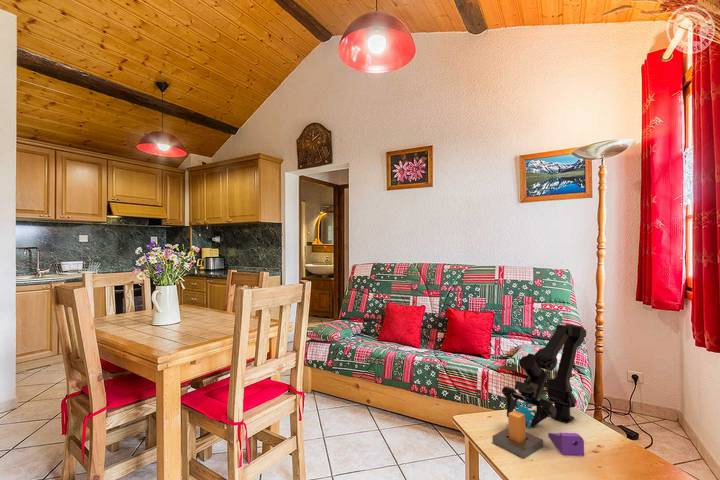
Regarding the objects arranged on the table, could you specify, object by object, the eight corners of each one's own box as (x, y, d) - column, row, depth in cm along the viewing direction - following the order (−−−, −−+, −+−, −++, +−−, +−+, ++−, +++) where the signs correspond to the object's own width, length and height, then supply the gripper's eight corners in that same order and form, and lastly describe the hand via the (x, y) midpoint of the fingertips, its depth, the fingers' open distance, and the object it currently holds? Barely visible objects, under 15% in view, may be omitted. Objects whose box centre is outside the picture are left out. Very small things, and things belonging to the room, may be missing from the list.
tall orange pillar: (515, 440, 134) (514, 410, 134) (525, 445, 130) (525, 414, 130) (508, 444, 131) (508, 413, 131) (519, 449, 128) (518, 417, 128)
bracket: (584, 456, 123) (583, 436, 123) (562, 456, 124) (562, 435, 124) (567, 437, 135) (567, 419, 135) (548, 436, 136) (548, 418, 136)
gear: (509, 422, 144) (511, 397, 150) (507, 427, 148) (510, 403, 154) (540, 431, 139) (541, 405, 145) (538, 436, 143) (539, 411, 150)
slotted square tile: (511, 432, 139) (511, 425, 139) (542, 446, 129) (542, 439, 129) (492, 442, 132) (492, 436, 132) (523, 458, 123) (523, 451, 123)
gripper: (503, 365, 142) (486, 401, 136) (551, 379, 127) (535, 421, 121) (515, 380, 147) (500, 416, 141) (563, 396, 131) (548, 436, 125)
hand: (519, 421), depth 132 cm, fingers open, 9 cm apart
